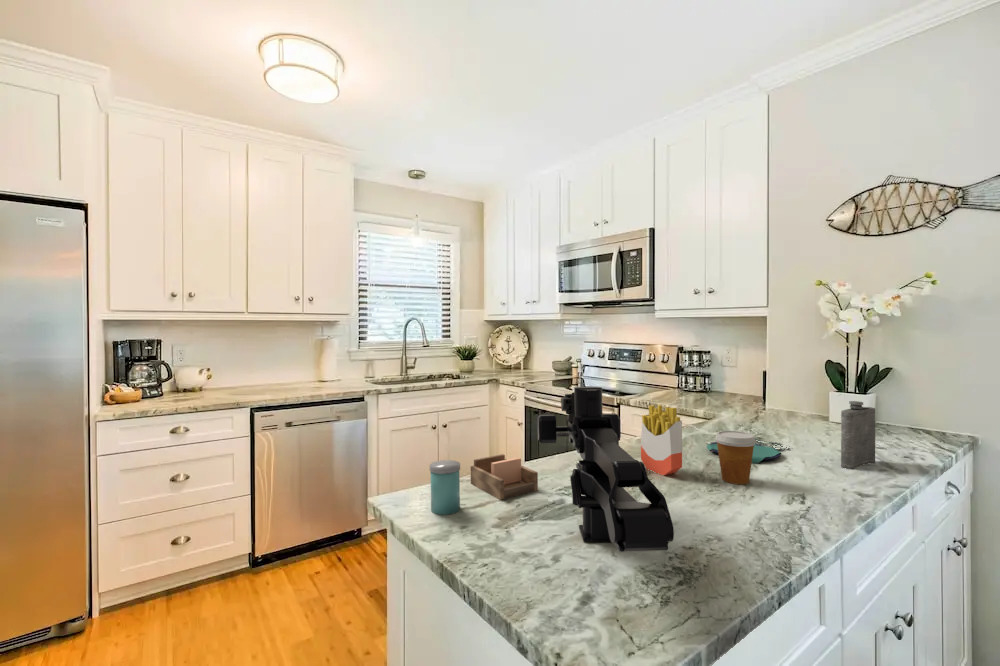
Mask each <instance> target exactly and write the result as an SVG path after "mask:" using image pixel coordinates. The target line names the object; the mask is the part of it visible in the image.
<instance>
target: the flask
mask: <svg viewBox="0 0 1000 666" xmlns="http://www.w3.org/2000/svg"><path fill="white" fill-rule="evenodd" d="M848 403H849V408H847V409H843V410H841V412H840V413H841V414H840V416H841V419H840V422H841V424H840V426H841V427H840V431H841V432H840V467H841V468H842V469H845V468H846V469H845V470H854V469H856V468H858V467H861V466H864V465H863V464H865V465H869V464H868V463H871V464H876V407H872V406H871V407H870V406H864V402H863V401H860V400H859V401H857V400H850V401H849V402H848ZM860 465H861V466H860ZM855 467H856V468H855Z"/></svg>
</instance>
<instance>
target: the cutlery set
mask: <svg viewBox="0 0 1000 666" xmlns="http://www.w3.org/2000/svg"><path fill="white" fill-rule="evenodd" d="M754 439H755V440H758V441H764V442H767V441H765V440H762V439H759V438H756V437H754ZM758 441H756V443H755V445H754V448H753V456H752V463H751V464H759V463H760V462H762V461H764V460H772V459H777V458H779V457H780V456H781V455H782V452H783V451H785V452H786V450H781V449H783V448H781V447H783V446H781V445H783V444H782V443H781V442H776V441H775V442H771V441H768V442H769V443H774V444H777V445H780V446H781V447H779V448H780V449H775V448H778V447H775V448H773V446H772V445H774V444H767V443H762V442H758ZM759 443H760V444H759ZM763 444H765V445H763ZM767 445H770V446H772V447H770V446H767ZM777 445H775V446H777ZM786 448H787V447H786ZM706 449H707V450H708V451H710V452H715V453H717V454H718V446H717V442H716V441H714V442H711V443H709V444H707V445H706ZM778 450H781V451H778ZM788 450H790V448H788Z"/></svg>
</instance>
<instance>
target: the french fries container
mask: <svg viewBox="0 0 1000 666" xmlns="http://www.w3.org/2000/svg"><path fill="white" fill-rule="evenodd" d="M664 410H665V411H663V405H661V404H659V405H657V408H656V407H655V405H648V414H645V415H644V414H643V415H641V419H642V421H641V438H640V439H641V440H640V461H641V462H643V464H644V466H645V469H646V470H648V469H649V470H652V471H654V472H656V473H655V474H657V473H659V474H661V475H660V476H662V475H665V476H669V475H673V474H672V473H674V474H676V473H677V471H679V470H681V468H683V420H681V417H680V416H677V407H670V406H666V407H664ZM654 472H653V473H654ZM659 474H658V475H659ZM668 474H669V475H668Z"/></svg>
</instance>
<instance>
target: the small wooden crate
mask: <svg viewBox="0 0 1000 666" xmlns="http://www.w3.org/2000/svg"><path fill="white" fill-rule="evenodd" d="M503 460H508V459H507V458H506V456H505V454H504V453H501V454H497V455H491V456H487V457H481V458H475V459H473V465H470V484H471V485H472V486H474V487H477V488H478V489H480V490H482V491H484V492H485V493H487V494H489V495H490V496H492V497H494V498H496V499H498V500H499V501H502V499H503V500H505V499H510V498H515V497H517V496H521V495H525V494H530V493H533V491H534V492H537V490H538V489H539V485H538V484H539V482H538V481H539V479H538V478H539V474H538V471H535V470H534V469H533V470H532V469H530V468H529V467H526V466H524V465H521V481H518V482H514V483H510V484H506V485H504V480H503V479H501V478H499V477H497V476H495V475H492V474H491V463H493V462H498V461H503ZM538 491H539V490H538ZM529 492H530V493H529Z"/></svg>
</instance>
